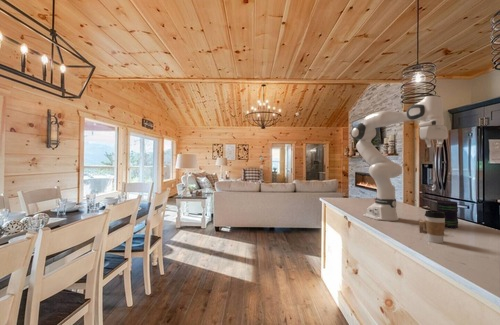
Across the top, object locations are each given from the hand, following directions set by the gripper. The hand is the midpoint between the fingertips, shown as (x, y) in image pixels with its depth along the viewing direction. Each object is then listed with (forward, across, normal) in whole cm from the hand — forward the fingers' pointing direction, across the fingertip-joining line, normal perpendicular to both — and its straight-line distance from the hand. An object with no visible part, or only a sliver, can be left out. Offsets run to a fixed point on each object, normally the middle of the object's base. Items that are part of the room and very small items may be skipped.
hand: (434, 147), depth 137 cm
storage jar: (+48, -12, -1) cm, 50 cm away
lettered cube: (+48, +10, 0) cm, 49 cm away
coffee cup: (+48, +22, +12) cm, 54 cm away
